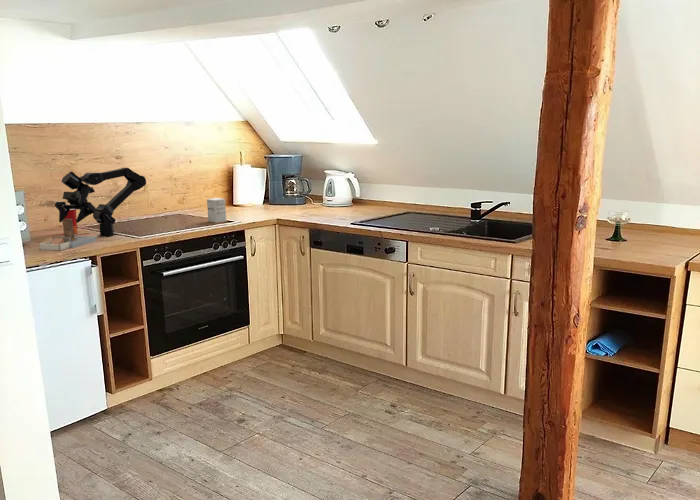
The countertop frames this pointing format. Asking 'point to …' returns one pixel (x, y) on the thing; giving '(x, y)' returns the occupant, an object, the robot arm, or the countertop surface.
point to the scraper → (67, 231)
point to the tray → (53, 246)
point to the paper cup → (72, 216)
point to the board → (81, 241)
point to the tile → (58, 241)
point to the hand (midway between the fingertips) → (68, 222)
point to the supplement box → (216, 210)
